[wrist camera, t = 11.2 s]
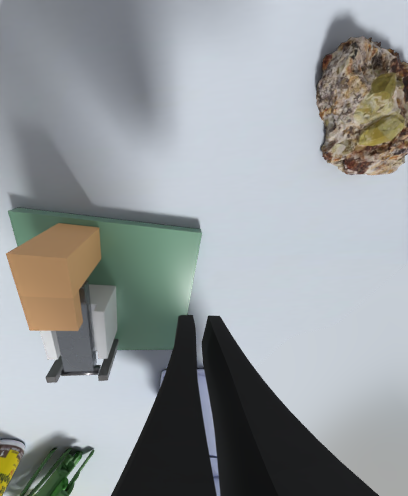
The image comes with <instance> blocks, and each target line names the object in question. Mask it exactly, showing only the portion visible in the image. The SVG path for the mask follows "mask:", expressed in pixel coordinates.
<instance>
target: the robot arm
mask: <svg viewBox="0 0 408 496" xmlns="http://www.w3.org/2000/svg"><path fill="white" fill-rule="evenodd" d="M202 355H203V365H204V369H197V358H196V331H195V323H194V319H193V315H180V316H178V322H177V328H176V335H175V342H174V347H173V351H172V355H171V358H170V361H169V364H168V367H167V370H164V371H162V373H161V381H160V389H159V392H158V394H157V397H156V399H155V402H154V404H153V407H152V409H151V411H150V414H149V416H148V418H147V421H146V423H145V425H144V428H143V430H142V432H141V434H140V436H139V439H138V441H137V443H136V445H135V447H134V449H133V451H132V453H131V456H130V458H129V460H128V462H127V464H126V466H125V468H124V470H123V472H122V474H121V476H120V479H119V481H118V483H117V485H116V487H115V489H114V491H113V493H112V495H111V496H379V495H378V494H377V493H375V492H374V491H373V490H372V489H371V488H370V487H369V486H367V485H366V484H365V483H364V482H363V481H362V480H361V479H359V477H357V476H356V475H355V474H354V473H353V472H352V471H351V470H349V469H348V468H347V467H346V466H345V465H344V464H342V462H340V461H339V460H338V459H337V458H336V457H335V456H334V455H333V454H332V453H331V452H330V451H329V450H328V449H327V448H326V447H325V446H324V445H322V443H320V442H319V441H318V440H317V439H316V438H315V436H314V435H313V434H312V433H310V431H308V429H307V428H306V427H305V426H304V425H303V424H302V423H301V422H300V421H299V420H298V419H297V418H296V417H295V416H294V415H293V414H292V413H291V412H290V411H289V409H288V408H287V407H286V406H285V405H284V404H283V403H282V402H281V400H280V399H279V398H278V397H277V396H276V395H275V394H274V392H273V391H272V390H271V389H270V388H269V387H268V385H267V384H266V383H265V381H263V379H262V378H261V376H260V375H259V374H258V373H257V371H256V370H255V368H254V367H253V366H252V364H251V363H250V362H249V360H248V359H247V358H246V356H245V355H244V353H243V352H242V350H241V349H240V347H239V346H238V344H237V343H236V341H235V340H234V338H233V337H232V335H231V333H230V332H229V330H228V329H227V327H226V325H225V324H224V322H223V320H222V319H221V317H220V316H208V319H207V323H206V327H205V331H204V335H203V339H202Z"/></svg>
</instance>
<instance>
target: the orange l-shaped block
mask: <svg viewBox="0 0 408 496" xmlns="http://www.w3.org/2000/svg"><path fill="white" fill-rule="evenodd" d="M6 255H7V259H8V262H9V265H10V268H11V272H12V275H13V278H14V281H15V284H16V288H17V291H18V294H19V297H20V301H21V304H22V307H23V310H24V313H25V317H26V320H27V323H28V326H29V330H35V331H78V330H79V329H80V327H81V325H82V323H83V318H82V311H81V303H80V296H79V289H80V288H81V287H82V285H83V284H84V282H85V281H86V280H87V278H88V277H89V275H90V274H91V273H92V271H93V270H94V268H95V267H96V266H97V264H98V263H99V261H100V260H101V246H100V231H99V227H91V226H81V225H72V224H63V223H58V224H56V225H54V226H52V227H51V228H49V229H47V230H46V231H44V232H42V233H40V234H39V235H37V236H35V237H34V238H32V239H30V240H28V241H27V242H25V243H23V244H22V245H20V246H18V247H17V248H15V249H13V250H11V251H10V252H8V253H6Z"/></svg>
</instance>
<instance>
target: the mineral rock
mask: <svg viewBox="0 0 408 496" xmlns="http://www.w3.org/2000/svg"><path fill="white" fill-rule="evenodd" d="M371 39H372V37H371V38H369V39H366V38H365V37H364V36H361V37H358V38H355V37H350V39H349V40H348V41H347V42H345V43H341V44H340V46H339V47H338V49H337V50H336V51H335V52H334V53H331V54H328V55H326V56H325V58H324V59H323V64H322V72H323V74H322V78H321V80H320V81H319V83H318V85H317V95H316V99H317V102H316V103H317V106H318V108H319V111H320V113H319V115H320V117H321V119H322V120H323V122H324V126H325V129H326V136H325V137H326V138H325V142H324V144H323V146H322V147H321V149H322V152H323V157H324V159H325V160H327V163H331V164H333V165H335V166H338V169H339V170H341V171H342V172H344V173H346V174H350V175H354V174H367V175H379V174H390V173H393V172H394V171H396V170H397V169H398V167H399V166H400V165H402V164H403V163H405V155H407V154H408V63H406V62H404V61H403V62H402V63H401V61H400V59H399V53H397V52H396V53H394V50H392V49H384V48H381V47H380V46H381V42H380V43H378V42H371Z"/></svg>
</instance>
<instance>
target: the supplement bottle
mask: <svg viewBox="0 0 408 496" xmlns="http://www.w3.org/2000/svg"><path fill="white" fill-rule="evenodd" d="M24 452H25V445H24V444H23V443H21V442H19V441H16V440H9V439H3V440H0V496H2V495H3V493H4V491H5V489H6V487H7V486H8V484H9V482H10V480H11V478H12V476H13V474H14V472H15V470H16V468H17V466H18V464H19V462H20V460H21V458H22V456H23V454H24Z"/></svg>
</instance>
